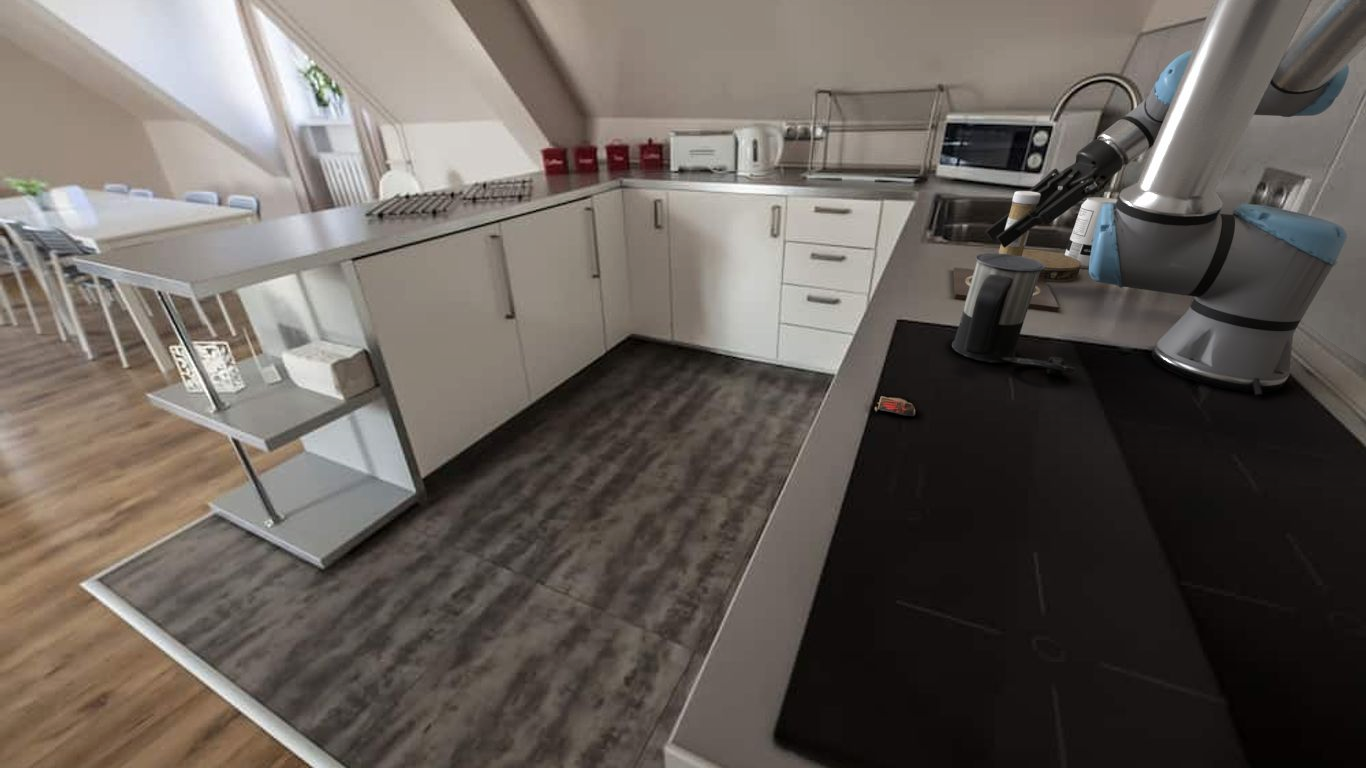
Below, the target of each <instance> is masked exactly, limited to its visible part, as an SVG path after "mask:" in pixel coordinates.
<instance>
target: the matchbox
mask: <svg viewBox="0 0 1366 768" xmlns="http://www.w3.org/2000/svg"><path fill="white" fill-rule="evenodd" d="M879 398H880V399H879V402H877V404H878V406H875V407H874V411H875V412H878V410H880V411H883V412H884V411H885V412H890V413H894V414H898V415H903V416H908V417H909V416H910V417H914V416H915V415H916V409H915V406H914V405H913V403H911V402H908V401H907V400H906V399H902V398H901V397H886V396H882V395H881V396H880V397H879Z"/></svg>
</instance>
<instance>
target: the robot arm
mask: <svg viewBox="0 0 1366 768" xmlns="http://www.w3.org/2000/svg"><path fill="white" fill-rule="evenodd" d="M1312 1H1313V0H1213V1H1212V4H1211V6H1210V9H1209V11H1208V12H1207V16H1206V18H1205V20H1204V22H1203V25H1202V26H1201V27H1202V28H1201V30H1200V32H1199V35H1198V37H1197V39H1196V41H1195V44H1194V47H1193V49H1192V50H1188V51H1186V52H1184V53H1182V54H1180V55H1178V56H1177V57H1175V58H1174V59H1173V60H1172V61H1171V62H1170V63H1169V64H1168V65H1166V67H1165V69H1163V71H1162V72H1161V73H1160V75H1158V77H1157V79H1156V81H1155V83H1154V85H1153V87H1152V88H1151V90H1150V91H1149V93H1148V94H1147V95H1146V97H1145V98H1144V100H1143V101H1142V102H1141V103H1140V104H1138V105H1137V106H1136V107H1134V108H1133V109H1132V110H1131V111H1130V112H1129V113H1127V114H1126V115H1124V116H1123V117H1122V118H1121V119H1119V120H1116V122H1114V123H1113V124H1112V125H1110V126H1109V127H1108V128H1107V129H1105V130H1104V131H1102V132H1101V133H1099V135H1098V136H1097V139H1093V140H1091V141H1090V142H1089V143H1087V144H1086V145H1084V146H1083V147H1082V148H1081V149H1080V150H1079V151H1077V153H1076V155H1075V162H1074V163H1073V164H1071V165H1070V166H1068V167H1065V168H1064V169H1063V170H1061V171H1059V170H1058V168H1054V169H1052V170H1051V171H1049V173H1048V174H1047V175H1046V176H1045V177H1044V178H1042V179H1041V180H1040V181H1038V182H1037V183H1036V184H1034V185H1033V186H1032V187H1031V188H1030V189H1028V190H1027V191H1032V192H1037V193H1040V194H1041V196H1040V200H1039V203H1038V204H1037V206H1036V209H1035V211H1033V210H1031V211H1029V214H1030V215H1031V217H1030V216H1029V215H1028V214H1026V215H1025V216H1023V217H1022V218H1021V219H1019V220H1018V221H1017V222H1015V223H1014V224H1013V225H1011V226H1010V227H1009V228H1007V229H1006V230H1005V227H1006V223H1007V220H1008V217H1009V214H1010V211H1009V212H1008V213H1007V214H1005V215H1004V216H1002V217H1001V218H1000V219H999V220H997V221H995V223H994V224H992V225H991V226H989V227H988V228H987V229H986V230H985V233H986V234H987V236H988V238H989V239H990V240H991V241H992V242H995V241H997V240H998V242H999V243H1000V246H1001V245H1002V246H1003V247H1004V248H1005V247H1007V246H1008V245H1009V244H1011V243H1012V242H1013V241H1015V240H1016V239H1017V238H1019V237H1020V236H1021V235H1023V234H1024V233H1025V232H1027V231H1028V230H1029V231H1030V230H1031V229H1032V228H1034V227H1035V226H1039V225H1041V224H1043V223H1044V225H1049V224H1050V223H1053V221H1055V220H1056V219H1058V218H1059V217H1060V216H1062V215H1064V214H1065V213H1067V212H1068V211H1069V210H1070V209H1071V208H1073V207H1074V206H1075V205H1077V204H1078V203H1080V202H1082V201H1083V200H1084V199H1086V197H1087V198H1088V197H1089V196H1091V195H1092V194H1094V193H1096V192H1098V191H1099V190H1100V187H1099V185H1098V184H1097V183H1104V182H1105V183H1106V181H1108V180H1109V179H1111V178H1112V177H1113V176H1115V175H1116V174H1117V173H1119V172H1120V171H1121V170H1122V168H1123V167H1127V166H1128V165H1129V164H1131V162H1134V161H1136V160H1138V158H1139V157H1140V156H1141V155H1142V154H1144V153H1145V152H1147V151H1148V150H1150V149H1151V150H1150V152H1149V154H1148V157H1147V159H1146V162H1145V164H1144V167H1143V169H1142V172H1141V174H1140V176H1139V179H1138V180H1137V181H1136V182H1134V183H1131V184H1130V185H1129V186H1126V187H1125V188H1123V189H1121V191H1120V193H1119V195H1118V197H1117V202H1116V204H1114V203H1112V202H1110V203H1108V204H1104V205H1103V206H1102V207H1101V211H1100V213H1099V216H1098V220H1097V224H1096V228H1095V233H1094V238H1093V243H1092V249H1091V255H1090V262H1089V268H1088V274H1089V276H1090V278H1091V279H1092V280H1093V281H1095V282H1096V283H1102V284H1106V285H1112V286H1117V287H1119V288H1122V289H1123V288H1129V289H1137V290H1143V291H1144V290H1145V291H1150V292H1159V293H1165V294H1173V295H1181V296H1188V297H1193V300H1192V301H1191V304H1190V306H1189V307H1188V309H1187V311H1186V312H1185V313H1184V314H1183V315H1182V316H1181V317H1180V318H1179V319H1178V320H1177V321H1176V322H1175V323H1174V324H1173V325H1172V326H1171V327H1170V328H1169V329H1168V330H1167V331H1166V332H1165V333H1164V334H1163V335H1162V337H1160V338H1159V340H1157V341H1156V343H1155V346H1154V348H1153V350H1152V352H1151V357H1152V359H1153V360H1154V361H1155V362H1156V363H1157V364H1159V365H1160V366H1162V367H1163V368H1165V369H1167V370H1168V371H1171V372H1173V373H1175V374H1177V375H1179V376H1181V377H1185V378H1186V379H1190V380H1192V381H1196V382H1199V383H1202V384H1205V385H1210V386H1213V387H1218V388H1221V389H1227V390H1234V391H1239V392H1240V391H1241V392H1248V393H1249V392H1250V393H1254V395H1255V396H1262V395H1264V394H1263V393H1269V392H1276V391H1279V390H1280V389H1281V388H1283V387H1284V385H1285V383H1286V381H1287V380H1288V378H1289V376H1290V371H1291V369H1290V368H1291V360H1292V350H1293V339H1294V334H1295V331H1296V330H1297V328H1298V327H1299V325H1300V322H1301V321H1302V319H1303V317H1304V316H1305V315H1306V313H1307V311H1308V309H1309V307H1310V305H1312V303H1313V300H1314V299H1315V297H1316V295H1317V294H1318V292H1319V290H1320V288H1321V287H1322V286H1323V284H1324V282H1325V280H1326V279H1327V277H1328V275H1329V273H1330V272H1331V270H1332V269H1333V267H1336V265H1337V263H1338V261H1337V260H1338V258H1339V256H1340V254H1341V251H1342V249H1343V247H1344V245H1345V243H1346V241H1347V239H1348V238H1347V237H1348V234H1347V231H1346V229H1345V228H1344V227H1343V226H1341V225H1340V224H1338V223H1335V222H1333V221H1330V220H1328V219H1324V218H1321V217H1317V216H1313V215H1310V214H1305V213H1302V212H1298V211H1293V210H1287V209H1284V208H1283V209H1282V208H1278V207H1274V206H1268V205H1262V204H1253V203H1241V204H1239V205H1238V206H1237V207H1236V208H1234V209H1233V211H1232V213H1231V214H1229V213H1228V214H1227V213H1220V212H1221V211H1222V208H1223V205H1224V202H1223V201H1222V198H1221V197H1220V196H1219V195H1218V193H1217V192H1216V191H1217V188H1218V186H1219V184H1220V182H1221V180H1222V178H1223V177H1224V174H1225V172H1226V170H1227V168H1228V167H1229V164H1230V162H1231V160H1232V158H1233V156H1234V155H1235V152H1236V151H1237V149H1238V147H1239V145H1240V143H1241V141H1242V139H1243V137H1244V135H1245V134H1246V131H1247V128H1248V127H1249V125H1250V123H1251V121H1252V119H1253V117H1254V116H1272V117H1273V116H1275V117H1283V118H1291V117H1292V118H1293V117H1305V116H1306V117H1313V116H1317V115H1320V114H1322V113H1323V112H1325V111H1327V110H1328V109H1329V108H1330V107H1331V106H1332V105H1333V104H1334V102H1335V100H1336V98H1338V97H1339V96H1340V94H1341V92H1342V91H1343V89H1344V87H1345V85H1346V82H1347V80H1348V76H1349V72H1350V67H1349V63H1351V61H1353V59H1355V58H1356V57H1357V55H1358V54H1360V53H1361V52H1362V51H1363V50H1364V49H1365V48H1366V0H1323V2H1322V3H1321V4H1320V5H1319V6H1318V8H1316V10H1315V11H1314V12H1313V13H1312V14H1311V16H1310V17H1309V18H1308V19H1307V20H1306V22H1305V23H1304V24H1303V25H1302V27H1301V28H1300V29H1298V28H1299V26H1300V25H1301V22H1302V20H1303V18H1304V16H1305V14H1306V12H1307V10H1308V8H1309V7H1310V5H1311V2H1312ZM1297 30H1298V31H1297ZM1296 32H1297V33H1296ZM1004 230H1005V231H1004Z"/></svg>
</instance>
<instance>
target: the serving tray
mask: <svg viewBox="0 0 1366 768" xmlns="http://www.w3.org/2000/svg"><path fill="white" fill-rule="evenodd" d="M974 270H975V269H972V268H963V267H953V270H952V273H953V274H952V275H953V291H954V293H953V294H954V300H962V301H966V299H967V295H968V292H969V288H970V284H971V281H972V277H973V274H974ZM1028 309H1032V310H1037V311H1046V312H1052V313H1053V312H1054V313H1058V312H1059V309H1060V305H1059V304H1058V301H1057V300H1056V297H1055V296H1054V294H1053V293H1052V291H1051V288H1050V287H1049V285H1048V283H1047V281H1045V279H1044V278H1042V277H1038V280H1037V283H1036V286H1035V289H1034V292H1033V295H1032V298H1031V301H1030V304H1029V307H1028Z"/></svg>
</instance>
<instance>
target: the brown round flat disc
mask: <svg viewBox="0 0 1366 768" xmlns="http://www.w3.org/2000/svg"><path fill="white" fill-rule="evenodd" d="M1022 257H1026V258H1030V259H1033V260H1036V261H1038V262H1041V263H1042V264H1043V265H1044V269H1042V270H1041V271H1040V274H1039V277H1042V278H1044V279H1045V281H1046V282H1055V283H1057V282H1058V283H1060V282H1062V283H1063V282H1070V281H1074V280H1076V279H1077V278H1078V275H1079V273H1080V270H1081V268H1080V267H1081V262H1080V261H1078V260H1077V259H1075V258H1072V257H1069V256H1066V255H1065V254H1062V253H1058V252H1053V251H1047V250H1042V249H1041V250H1040V249H1031V248H1030V249H1028V248H1024V250H1023V253H1022Z"/></svg>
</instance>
